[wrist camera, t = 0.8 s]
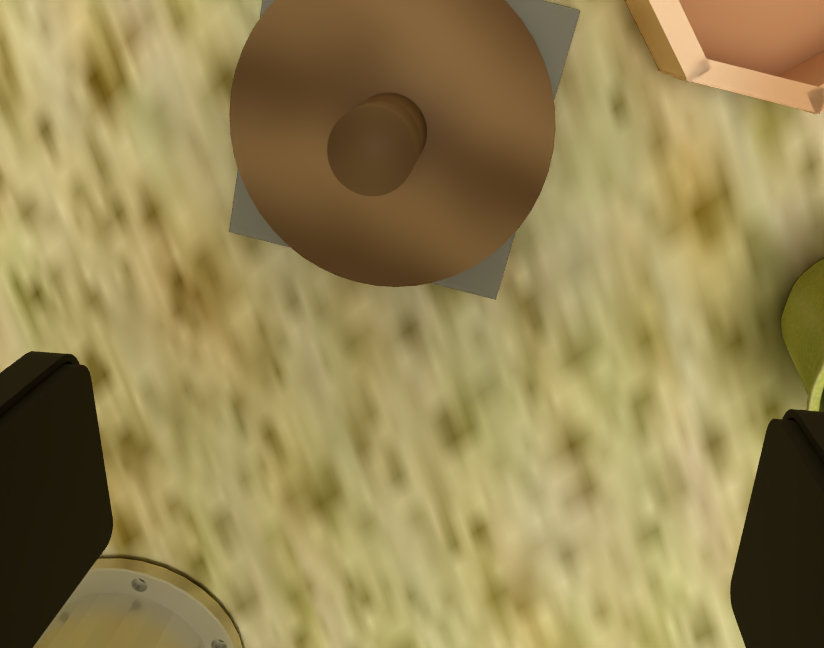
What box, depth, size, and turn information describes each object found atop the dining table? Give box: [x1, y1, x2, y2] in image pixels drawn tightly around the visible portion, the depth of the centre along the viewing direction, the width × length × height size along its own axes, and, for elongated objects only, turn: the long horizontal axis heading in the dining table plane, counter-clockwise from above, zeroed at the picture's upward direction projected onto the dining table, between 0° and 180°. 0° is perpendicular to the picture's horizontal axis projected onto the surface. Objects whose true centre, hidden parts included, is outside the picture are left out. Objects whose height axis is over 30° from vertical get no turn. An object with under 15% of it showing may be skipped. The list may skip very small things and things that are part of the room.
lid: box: [230, 0, 555, 287], centre depth 29 cm, size 13×13×6 cm
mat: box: [229, 0, 580, 300], centre depth 32 cm, size 12×12×1 cm
